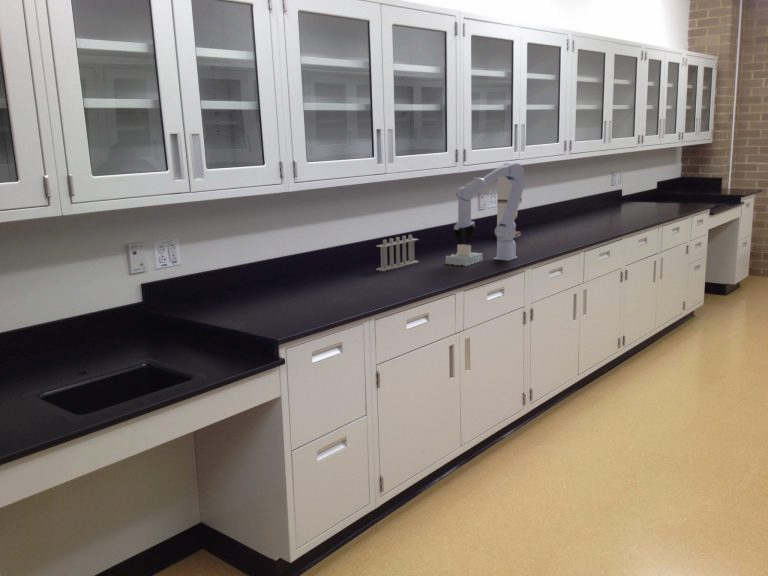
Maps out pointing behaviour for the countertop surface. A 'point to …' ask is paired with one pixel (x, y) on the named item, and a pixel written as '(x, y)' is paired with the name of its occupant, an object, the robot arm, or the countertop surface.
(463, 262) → the drying rack
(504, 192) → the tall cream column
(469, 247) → the cream tile
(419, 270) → the countertop surface
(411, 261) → the test tube rack
